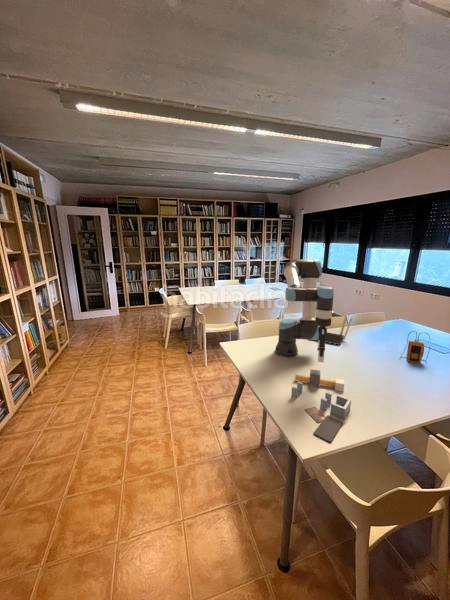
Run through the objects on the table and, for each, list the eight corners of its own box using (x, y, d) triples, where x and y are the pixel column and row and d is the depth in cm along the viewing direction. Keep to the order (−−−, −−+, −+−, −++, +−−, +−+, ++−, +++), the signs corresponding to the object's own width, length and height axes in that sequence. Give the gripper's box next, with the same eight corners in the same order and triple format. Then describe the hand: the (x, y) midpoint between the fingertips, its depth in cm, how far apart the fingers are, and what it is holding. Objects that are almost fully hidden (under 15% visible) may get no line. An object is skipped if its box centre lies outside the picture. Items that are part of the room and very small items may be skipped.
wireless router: (301, 338, 197) (302, 314, 193) (309, 330, 215) (311, 308, 211) (347, 347, 178) (350, 321, 174) (352, 338, 197) (354, 314, 192)
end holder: (330, 413, 108) (331, 403, 107) (336, 404, 115) (337, 394, 113) (344, 419, 104) (345, 409, 103) (350, 409, 111) (351, 399, 110)
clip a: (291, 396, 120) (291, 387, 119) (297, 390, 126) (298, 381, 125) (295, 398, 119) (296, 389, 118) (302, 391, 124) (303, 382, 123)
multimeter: (423, 357, 161) (428, 328, 157) (428, 364, 152) (433, 333, 148) (396, 353, 167) (400, 325, 163) (399, 360, 158) (404, 330, 154)
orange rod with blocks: (294, 382, 133) (295, 370, 131) (295, 378, 137) (296, 366, 136) (343, 391, 124) (344, 379, 123) (342, 386, 129) (344, 374, 128)
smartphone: (343, 422, 102) (330, 442, 91) (343, 424, 102) (330, 444, 92) (327, 414, 107) (312, 433, 96) (326, 416, 107) (312, 435, 96)
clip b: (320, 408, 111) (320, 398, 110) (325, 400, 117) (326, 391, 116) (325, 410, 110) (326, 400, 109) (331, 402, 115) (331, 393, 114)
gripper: (333, 325, 112) (329, 368, 116) (330, 312, 135) (327, 348, 139) (315, 323, 114) (312, 365, 119) (315, 310, 137) (313, 346, 142)
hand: (320, 356), depth 129 cm, fingers open, 13 cm apart
